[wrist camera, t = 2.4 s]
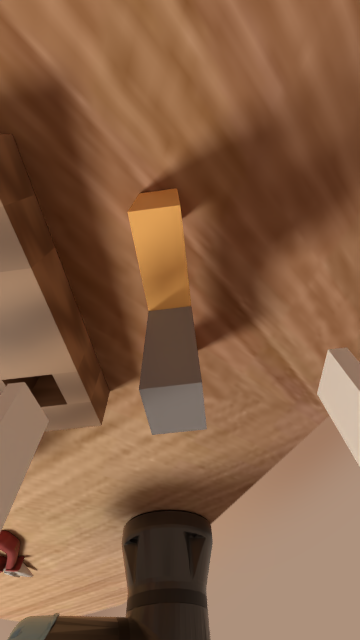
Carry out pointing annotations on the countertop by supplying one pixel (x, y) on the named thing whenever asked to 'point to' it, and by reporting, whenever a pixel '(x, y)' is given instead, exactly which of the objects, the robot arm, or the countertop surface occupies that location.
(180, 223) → the orange bar with post
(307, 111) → the countertop surface
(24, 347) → the brown slotted wooden block
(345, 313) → the countertop surface
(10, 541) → the pliers
